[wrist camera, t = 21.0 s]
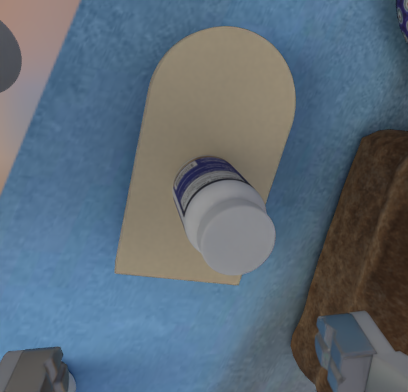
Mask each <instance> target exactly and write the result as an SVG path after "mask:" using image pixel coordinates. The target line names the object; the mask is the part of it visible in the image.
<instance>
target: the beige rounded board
mask: <svg viewBox="0 0 408 392" xmlns="http://www.w3.org/2000/svg"><path fill="white" fill-rule="evenodd" d="M295 107H296V95H295V86H294V82H293V78H292V75H291V72H290V69H289V67H288V65H287V63H286V61H285V59H284V58H283V57H282V55H281V54H280V52H279V51H278V50H277V49H276V48H275V47H274V46H273V45H272V44H271V43H270V42H269V41H267V40H266V39H265V38H263V37H262V36H260V35H258V34H256V33H254V32H252V31H249V30H247V29H243V28H238V27H230V26H221V27H213V28H208V29H204V30H201V31H198V32H195V33H193V34H190V35H188V36H187V37H185V38H183V39H181V40H180V41H179V42H177V43H176V44H175V45H173V46H172V47H171V48H170V49H169V50H168V51H167V52H166V54H165V55H164V56H163V58H162V59H161V60H160V62H159V63H158V65H157V67H156V69H155V71H154V73H153V75H152V78H151V81H150V85H149V88H148V93H147V99H146V104H145V109H144V114H143V119H142V125H141V130H140V135H139V140H138V145H137V150H136V156H135V161H134V166H133V171H132V176H131V182H130V187H129V192H128V197H127V202H126V208H125V213H124V218H123V223H122V228H121V234H120V239H119V244H118V249H117V254H116V260H115V274H125V275H136V276H146V277H157V278H167V279H177V280H188V281H198V282H208V283H219V284H229V285H239V282H240V279H241V276H242V275H224V274H221V273H218V272H216V271H215V270H213V269H212V268H211V267H209V266H208V264H207V263H206V262H205V260H204V258H203V256H202V254H201V253H200V252H199V251H198V250H196V249H195V248H194V247H193V245H192V244H191V243H190V241H189V239H188V238H187V235H186V233H185V230H184V227H183V224H182V221H181V219H180V216H179V213H178V210H177V208H176V205H175V202H174V199H173V194H172V186H173V181H174V177H175V175H176V173H177V172H178V170H179V169H180V168H181V166H182V165H183V164H185V163H186V162H187V161H189V160H190V159H192V158H195V157H197V156H202V155H214V156H218V157H221V158H223V159H224V160H226V161H227V162H229V163H230V164H231V165H232V166H233V167H234V168H235V169H236V170H237V171H238V172H239V173H240V174H241V175H242V176H243V177H244V178H245V179H246V180H247V181H248V182H249V184H250V185H251V186H252V187H253V188H254V189H255V190H256V191H257V192H258V193H259V194H260V196H261V198H262V199H263V201H264V204H266V201H267V198H268V195H269V192H270V189H271V186H272V183H273V180H274V177H275V174H276V171H277V168H278V165H279V162H280V159H281V156H282V153H283V150H284V147H285V144H286V141H287V138H288V135H289V132H290V129H291V127H292V123H293V119H294V114H295Z"/></svg>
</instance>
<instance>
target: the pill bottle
mask: <svg viewBox="0 0 408 392" xmlns="http://www.w3.org/2000/svg"><path fill="white" fill-rule="evenodd" d="M172 194H173V199H174V202H175V205H176V208H177V210H178V213H179V216H180V219H181V221H182V224H183V227H184V230H185V233H186V235H187V238H188V239H189V241H190V243H191V244H192V245H193V247H194V248H195V249H196V250H198V251H199V252H200V253H201V254H202V256H203V258H204V260H205V262H206V263H207V264H208V266H209V267H211V268H212V269H213V270H215V271H216V272H218V273H221V274H224V275H242V274H246V273H248V272H251V271H253V270H255V269H256V268H258V267H259V266H260V265H262V264H263V263H264V262H265V261H266V259H267V258H268V257H269V255H270V254H271V252H272V250H273V247H274V244H275V239H276V233H275V227H274V224H273V222H272V220H271V219H270V217H269V216H268V215H267V213H266V207H265V204H264V201H263V199H262V198H261V196H260V194H259V193H258V192H257V191H256V190H255V189H254V188H253V187H252V186H251V185H250V184H249V182H248V181H247V180H246V179H245V178H244V177H243V176H242V175H241V174H240V173H239V172H238V171H237V170H236V169H235V168H234V167H233V166H232V165H231V164H230V163H229V162H227V161H226V160H224V159H223V158H221V157H218V156H214V155H202V156H197V157H195V158H192V159H190V160H189V161H187V162H186V163H185V164H183V165H182V166H181V168H180V169H179V170H178V172H177V173H176V175H175V177H174V181H173V186H172Z"/></svg>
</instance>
